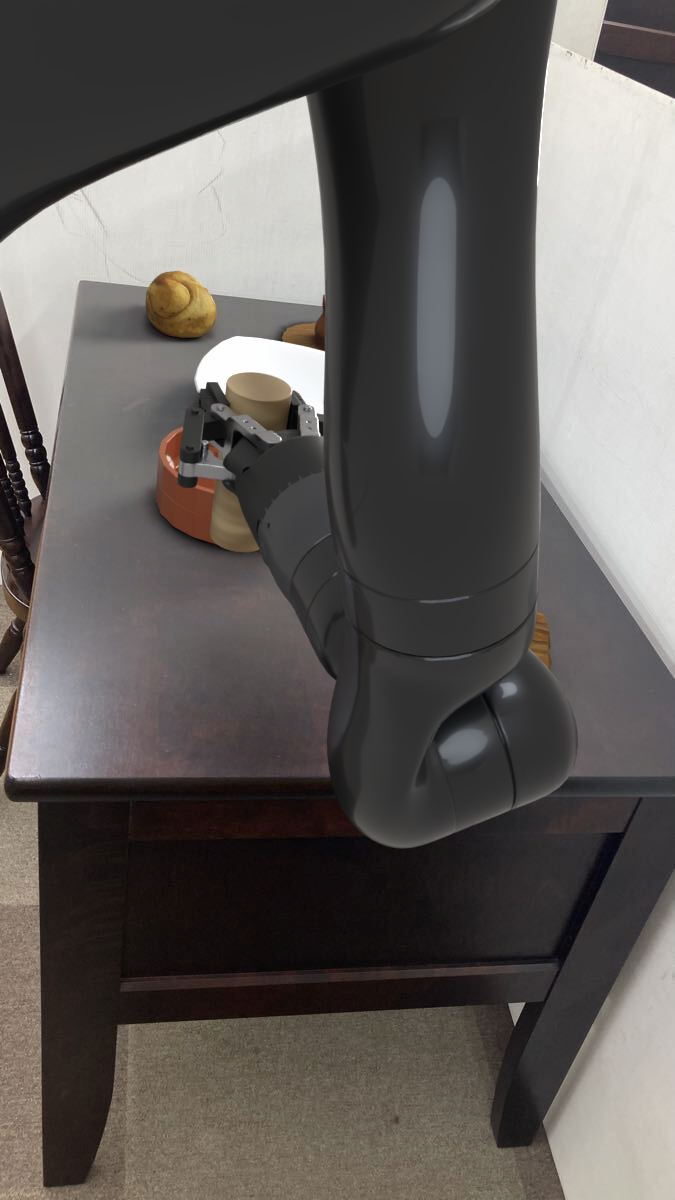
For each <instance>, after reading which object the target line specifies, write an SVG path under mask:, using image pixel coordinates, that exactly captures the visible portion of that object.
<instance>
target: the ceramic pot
mask: <svg viewBox="0 0 675 1200" xmlns="http://www.w3.org/2000/svg"><path fill="white" fill-rule="evenodd" d="M321 307H322V313H321V314H320V316H319V317H318V319H317V320H316V321H315V322H311V323H307V322H304V323H300V324H295V325H293V326H291V327H290V326H289V327H286V329H285V330H286V331H284V332H283V333H282V336H281V340H282V342H285V343H290V344H295V345H300V346H305V347H309V348H313V349H316V350H320V351H324V352H325V293H324V294H322V306H321Z"/></svg>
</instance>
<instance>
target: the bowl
mask: <svg viewBox="0 0 675 1200" xmlns="http://www.w3.org/2000/svg"><path fill="white" fill-rule="evenodd" d="M324 367H325V352H324V351H320V350H316V349H313V348H309V347H305V346H300V345H295V344H290V343H285V342H283V341H279V340H274V339H268V338H261V337H254V336H253V337H252V336H241V335H235V336H232V337H230V338H227V339H225V340H222V341H220V342H219V343H218V344H217V345H215V346H214V347H213V348H211V349H210V350H209V351H208V352H207V353H206V354H205V355H204V356H203V357H202V358H201V360H200V362H199V364H198V366H197V368H196V370H195V375H194V379H193V382H194V385H195V388H196V392H197V393H198V394H199V393H200V389H206V383H207V382H218V384H219V385H220V387H221V389H222V391H223V393H224V394H225V391H226V382H227V379H228V378H229V377H230V376H232V375H234V374H237V373H243V372H256V373H263V374H268V375H271V376H274V377H277V378H279V379H281V380H283V381H285V382H286V383H287V384H289V386H290V387H291V389H292V390H295V391H296V392H298V393H299V394H300V395H301V397H302V398H303V400H304V401H305V403H306V404H307V405H311V406H313V407H314V408H315V409H316V413H319V414H323V405H324Z"/></svg>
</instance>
